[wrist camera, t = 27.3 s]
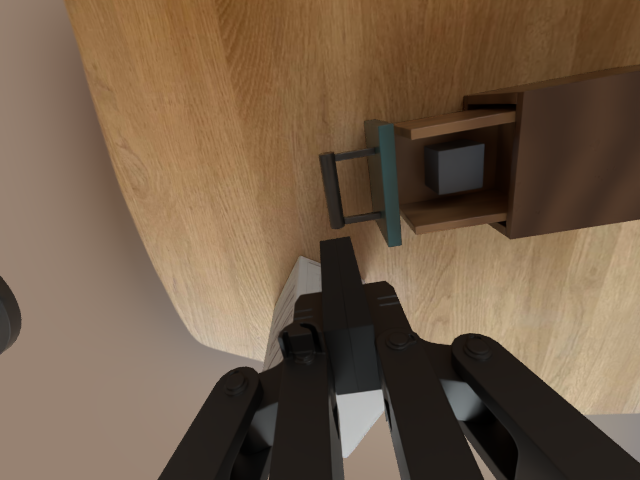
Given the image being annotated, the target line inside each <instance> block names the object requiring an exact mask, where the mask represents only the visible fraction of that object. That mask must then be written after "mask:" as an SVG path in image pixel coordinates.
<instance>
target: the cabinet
mask: <svg viewBox="0 0 640 480" xmlns="http://www.w3.org/2000/svg"><path fill="white" fill-rule="evenodd" d="M499 104H517V105H516V117H515V128H514V140H513V152H512V163H511V175H510V187H509V198H508V210H507V220H506V221H500V222H494V223H487V224H489V225H490V226H492V227H493V228H495V229H496V230H497V231H499V232H500V233H502V234H503V235H505V236H506V237H508V238H509V239H516V238H523V237H529V236H536V235H542V234H549V233H555V232H562V231H568V230H574V229H581V228H587V227H594V226H600V225H607V224H613V223H620V222H626V221H633V220H639V219H640V65H632V66H625V67H617V68H611V69H606V70H601V71H595V72H590V73H584V74H579V75H574V76H568V77H563V78H557V79H552V80H547V81H541V82H536V83H530V84H525V85H520V86H514V87H509V88H503V89H498V90H493V91H487V92H482V93H476V94H471V95H465V96H464V111H466V110H472V109H477V108H483V107H488V106H494V105H499Z"/></svg>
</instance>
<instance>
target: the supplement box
mask: <svg viewBox="0 0 640 480" xmlns="http://www.w3.org/2000/svg"><path fill="white" fill-rule="evenodd" d="M361 280H362V279H361ZM362 284H366V283H365V281H364V280H362ZM315 292H322V287H321V263H318V262H316V261H313V260H311V259H308V258H306V257H303V256H299V258H298V259H297V261H296V264H295V266H294V268H293V270H292V272H291V274H290V276H289V278H288V280H287V282H286V284H285V286H284V288H283V290H282V292H281V295H280V297H279V299H278V301H277V303H276V306H275V308H274V312H273V318H272V323H271V328H270V334H269V339H268V344H267V350H266V355H265V360H264V367H263V371H266V370H268V369H270V368H272V367H274V366H276V365H278V364H279V363H280V362H282V361H283V356H282V352H281V349H280V346H279V342H278V339H277V338H278V335H279V333H280V331H281V330H282V329H283V328H284V327H285V326H287V325H289V324H291V323H292V322H293V314H294V304H295V302H296V300H297V299H298V297H299V296H300V295H302V294H309V293H315ZM263 371H262V372H263ZM381 389H382V388H381ZM336 400H337V405H338V410H339V419H340V432H341V444H342V456H343V457H345V458H347V457H348V456H349V455H350V454H351V452H352V451H353V450H354V449H355V448H356V446H357V445H358V444H359V442H360V441H361V439H362V438H363V437H364V436H365V434H366V433H367V432H368V431H369V429H370V428H371V427H372V425H373V424H374V423H375V422H376V420H377V419H378V418H379V417H380V415H381V414H382V413H383V411H384V410H385V408H384V400H383V393H382V390H374V391H367V392H359V393H352V394H345V395H337V394H336Z"/></svg>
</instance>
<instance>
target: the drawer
mask: <svg viewBox="0 0 640 480" xmlns="http://www.w3.org/2000/svg"><path fill="white" fill-rule="evenodd" d="M516 105H517V104H499V105H494V106H488V107H483V108H477V109H472V110H466V111H461V112H455V113H450V114H444V115H439V116H433V117H428V118H422V119H417V120H411V121H406V122H400V123H395V124H393V123H389V122H385V121H380V120H376V119H374V120H368V121H364V129H365V138H366V148H364V149H359V150H353V151H347V152H342V153H336V154H334V152H325V153H321V154H319V162H320V167H321V173H322V179H323V185H324V191H325V197H326V203H327V209H328V215H329V221H330V226H331V228H332V229H340V228H343V227H344V226H345V224H351V223H357V222H363V221H369V220H375V221H376V223H377V225H378V227H379V229H380V231H381V233H382V235H383V237H384V239H385V241H386V243H387V245H388V247H394V246H400V245H402V240H401V225H400V215H401V216H402V217H403V219H404V220H405V221H406V223H407V224H408V225H409V227H410V228H411V229H412V230H413V232H414V233H415V234H416V235H418V234H424V233H431V232H437V231H443V230H449V229H456V228H462V227H468V226H475V225H481V224H487V223H494V222H500V221H506V220H507V210H508V198H509V187H510V175H511V163H512V152H513V140H514V128H515V117H516ZM460 139H467V140H471V141H476V142H480V143H484V144H485V146H484V168H483V188H478V189H472V190H466V191H460V192H455V193H449V194H443V195H438V194H437V193H436V192H434V191H433V190H431V189H430V188H429V187H427V186H426V185H425V168H424V146H427V145H432V144H438V143H443V142H449V141H455V140H460ZM364 156H367V157H368V167H369V176H370V186H371V195H372V205H373V212H371V213H365V214H359V215H353V216H347V217H344V215H343V208H342V202H341V195H340V188H339V181H338V175H337V168H336V161H341V160H347V159H353V158H358V157H364Z"/></svg>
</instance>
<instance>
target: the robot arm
mask: <svg viewBox="0 0 640 480" xmlns="http://www.w3.org/2000/svg"><path fill="white" fill-rule="evenodd" d="M320 259H321V287H322V292H315V293H309V294H302V295H300V296H299V297H298V299H297V300H296V302H295V304H294V314H293V322H292V323H291V324H289V325H287V326H285V327H284V328H283V329H282V330H281V331H280V333H279V335H278V338H277V339H278V342H279V346H280V349H281V352H282V356H283V361H282V362H280V363H279V364H278V365H276V366H274V367H272V368H270V369H268V370H266V371H263V372H261V373H259V374H258V373H257V372H256V371H255V370H254V369H253V368H250V367H238V368H236V369H233V370H231V371H229V372H228V373H226V374H225V375H223V376H222V377H221V378H220V380H219V381H218V382H217V383H216V385H215V386H214V388H213V390H212V391H211V393H210V395H209V396H208V398H207V400H206V401H205V403H204V404H203V406H202V408H201V409H200V411H199V413H198V414H197V416H196V418H195V419H194V421H193V423H192V424H191V426H190V427H189V429H188V431H187V432H186V434H185V436H184V437H183V439H182V441H181V442H180V444H179V445H178V447H177V449H176V450H175V452H174V454H173V455H172V457H171V459H170V460H169V462H168V464H167V465H166V467H165V468H164V470H163V472H162V473H161V475H160V477H159V478H158V480H267V479H268V476H269V480H344V470H343V456H342V444H341V432H340V419H339V410H338V405H337V400H336V394H337V395H345V394H352V393H359V392H367V391H374V390H382V393H383V400H384V408H385V416H386V421H388V424H389V428H390V432H391V437H392V442H393V446H394V450H395V455H396V459H397V464H398V468H399V472H400V477H401V480H484V478H483V476H482V474H481V471H480V469H479V467H478V465H477V462H476V460H475V458H474V456H473V454H472V451H471V449H470V447H469V445H468V442H467V440H466V438H467V439H468V441H469V442H470V443H471V444H472V446H473V447H474V449H475V450H476V452H477V453H478V454H479V456H480V457H481V459H482V460H483V461H484V463H485V464H486V466H487V467H488V468H489V470H490V471H491V472H492V474H493V475H494V476H495V478H496V479H497V480H640V463H639V462H638V461H637V460H635V459H634V458H633V457H632V456H631V455H630V454H628V453H627V452H626V451H625V450H624V449H622V448H621V447H620V446H619V445H618V444H617V443H615V442H614V441H613V440H612V439H611V438H610V437H608V436H607V435H606V434H605V433H604V432H603V431H601V430H600V429H599V428H598V427H597V426H595V425H594V424H593V423H592V422H591V421H590V420H588V419H587V418H586V417H585V416H584V415H583V414H581V413H580V412H579V411H578V410H577V409H576V408H574V407H573V406H572V405H571V404H570V403H568V402H567V401H566V400H565V399H564V398H563V397H561V396H560V395H559V394H558V393H557V392H556V391H554V390H553V389H552V388H551V387H550V386H549V385H547V384H546V383H545V382H544V381H543V380H541V379H540V378H539V377H538V376H537V375H536V374H534V373H533V372H532V371H531V370H530V369H529V368H527V367H526V366H525V365H524V364H523V363H522V362H520V361H519V360H518V359H517V358H516V357H514V356H513V355H512V354H511V353H510V352H509V351H507V350H506V349H505V348H504V347H503V346H502V345H500V344H499V343H498V342H496V341H495V340H493V339H492V338H490V337H487V336H484V335H481V334H473V333H468V334H463V335H460V336H458V337H457V338H455V339H454V341H453V342H452V344H451V345H444V344H436V343H431V342H428V341H425V340H423V339H421V338H420V337H419V336H418V335H417V333H415V332H414V331H412V329H411V327H410V325H409V322H408V320H407V318H406V315H405V313H404V311H403V308H402V306H401V304H400V301H399V299H398V297H397V294H396V292H395V290H394V288H393V286H391V285H390V284H389V283H387V282H386V281H381V282H374V283H368V284H362V280H361V276H360V273H359V269H358V265H357V261H356V258H355V254H354V250H353V246H352V243H351V239H350V236H348V237H342V238H336V239H330V240H324V241H320ZM381 388H382V389H381ZM464 435H465V436H466V438H465V436H464ZM269 473H270V474H269Z"/></svg>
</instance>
